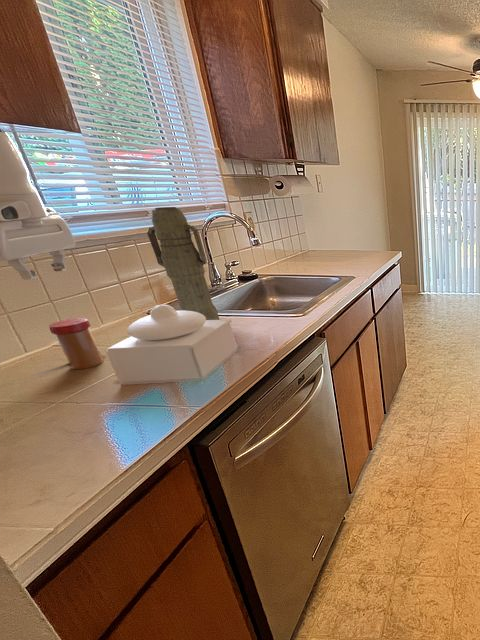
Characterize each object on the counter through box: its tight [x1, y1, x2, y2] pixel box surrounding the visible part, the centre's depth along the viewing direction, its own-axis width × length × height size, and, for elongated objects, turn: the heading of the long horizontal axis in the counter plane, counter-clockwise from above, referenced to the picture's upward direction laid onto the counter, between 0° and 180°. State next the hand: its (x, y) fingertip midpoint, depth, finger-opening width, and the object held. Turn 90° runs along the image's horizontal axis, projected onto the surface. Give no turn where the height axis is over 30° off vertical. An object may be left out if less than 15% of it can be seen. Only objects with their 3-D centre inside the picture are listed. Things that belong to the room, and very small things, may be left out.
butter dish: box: [105, 303, 239, 386], centre depth 94 cm, size 18×18×16 cm
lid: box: [48, 317, 91, 335], centre depth 95 cm, size 7×7×2 cm
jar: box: [54, 327, 104, 370], centre depth 97 cm, size 6×6×10 cm
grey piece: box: [146, 206, 221, 320], centre depth 112 cm, size 9×12×35 cm
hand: (46, 274), depth 90 cm, fingers open, 7 cm apart
